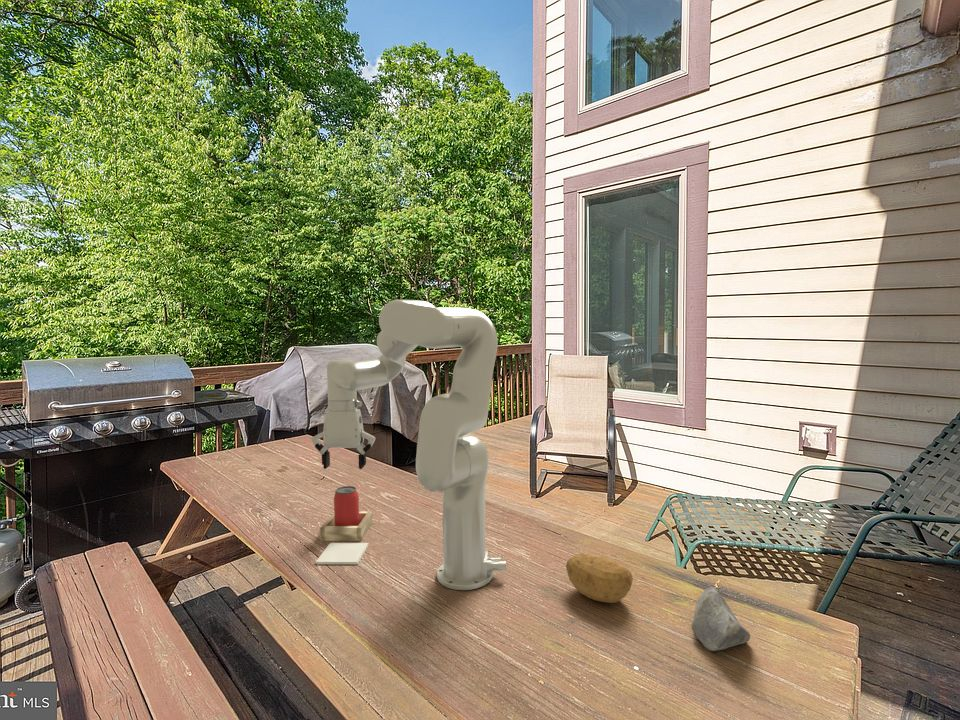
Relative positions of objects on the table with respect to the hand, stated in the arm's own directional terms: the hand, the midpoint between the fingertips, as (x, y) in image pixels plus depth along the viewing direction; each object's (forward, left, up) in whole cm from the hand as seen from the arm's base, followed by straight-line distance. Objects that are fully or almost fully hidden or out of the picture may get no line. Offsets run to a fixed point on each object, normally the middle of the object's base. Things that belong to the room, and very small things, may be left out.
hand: (344, 467), depth 132 cm
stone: (-81, +44, -18) cm, 94 cm away
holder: (0, 0, -18) cm, 18 cm away
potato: (-62, +31, -18) cm, 72 cm away
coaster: (-3, +13, -18) cm, 23 cm away
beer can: (0, 0, -18) cm, 18 cm away
